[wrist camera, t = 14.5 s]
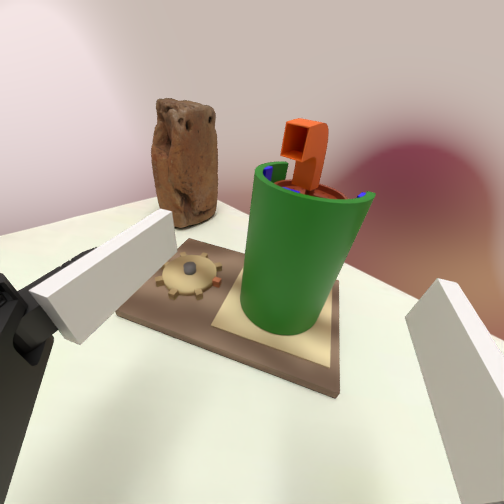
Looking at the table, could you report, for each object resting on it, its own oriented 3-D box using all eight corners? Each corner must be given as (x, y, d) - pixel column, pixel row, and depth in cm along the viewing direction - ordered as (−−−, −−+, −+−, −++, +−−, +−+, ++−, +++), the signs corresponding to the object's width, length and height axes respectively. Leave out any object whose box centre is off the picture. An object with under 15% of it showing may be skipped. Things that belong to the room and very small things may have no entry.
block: (195, 204, 50) (189, 98, 38) (221, 214, 47) (223, 104, 35) (155, 221, 43) (132, 95, 31) (183, 235, 40) (170, 103, 28)
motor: (326, 300, 29) (406, 129, 17) (301, 354, 23) (400, 141, 11) (260, 267, 33) (287, 109, 21) (223, 306, 26) (231, 110, 14)
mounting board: (335, 398, 21) (347, 384, 19) (116, 315, 25) (108, 297, 24) (336, 286, 33) (343, 270, 31) (189, 243, 38) (188, 228, 36)
